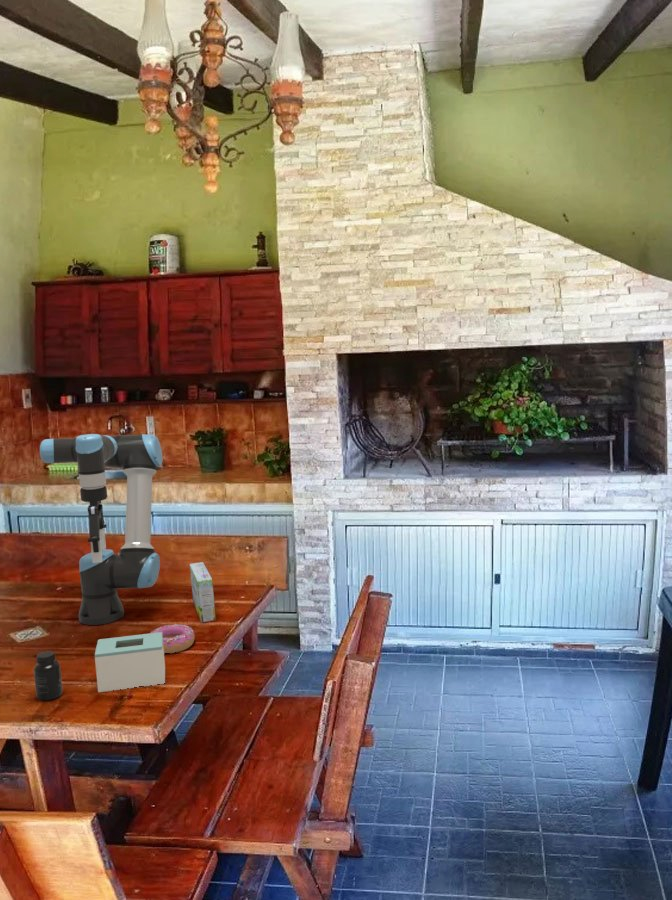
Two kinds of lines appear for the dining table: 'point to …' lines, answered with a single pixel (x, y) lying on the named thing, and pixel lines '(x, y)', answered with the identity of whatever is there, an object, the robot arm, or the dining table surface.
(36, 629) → the dining table surface
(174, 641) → the donut
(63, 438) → the robot arm
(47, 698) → the supplement bottle
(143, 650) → the box
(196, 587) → the snack box
